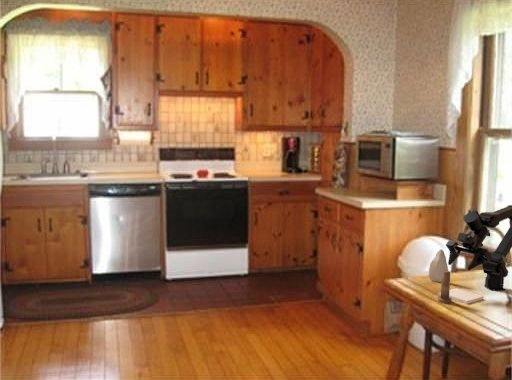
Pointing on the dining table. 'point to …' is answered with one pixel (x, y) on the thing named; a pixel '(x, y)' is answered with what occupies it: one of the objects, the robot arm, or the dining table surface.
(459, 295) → the tile
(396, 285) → the dining table surface
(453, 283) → the dining table surface
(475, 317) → the dining table surface
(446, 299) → the tamper
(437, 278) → the stone tool
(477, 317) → the dining table surface
